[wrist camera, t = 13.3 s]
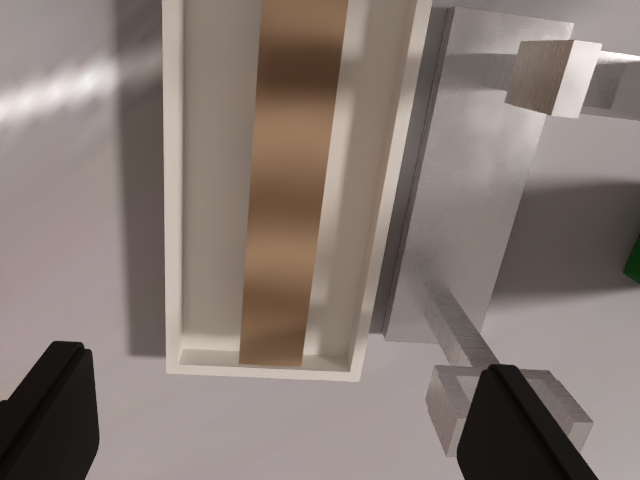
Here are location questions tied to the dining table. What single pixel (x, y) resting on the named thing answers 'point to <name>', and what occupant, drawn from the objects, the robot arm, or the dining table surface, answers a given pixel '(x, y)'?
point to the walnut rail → (288, 173)
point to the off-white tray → (235, 172)
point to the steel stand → (488, 190)
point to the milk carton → (634, 263)
